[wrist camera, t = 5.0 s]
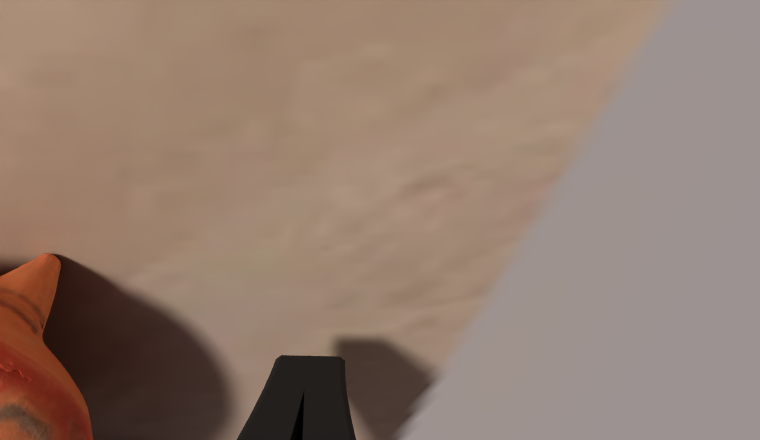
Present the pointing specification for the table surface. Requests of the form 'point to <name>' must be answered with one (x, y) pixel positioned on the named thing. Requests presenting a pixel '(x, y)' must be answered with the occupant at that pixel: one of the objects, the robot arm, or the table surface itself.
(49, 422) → the pot
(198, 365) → the table surface
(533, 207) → the table surface
